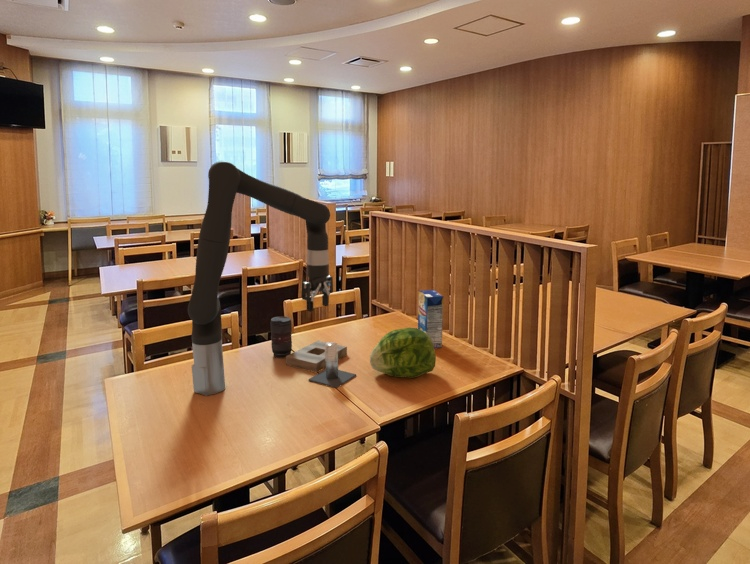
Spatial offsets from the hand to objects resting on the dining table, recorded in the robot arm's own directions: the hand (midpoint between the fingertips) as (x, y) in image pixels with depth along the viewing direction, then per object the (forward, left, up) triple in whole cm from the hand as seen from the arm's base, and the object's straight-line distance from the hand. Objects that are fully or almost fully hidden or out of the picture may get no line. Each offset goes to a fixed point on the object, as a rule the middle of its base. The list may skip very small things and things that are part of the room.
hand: (318, 308), depth 172 cm
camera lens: (+8, +25, -25) cm, 36 cm away
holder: (+11, +10, -25) cm, 29 cm away
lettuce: (+15, -25, -25) cm, 39 cm away
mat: (0, -5, -25) cm, 25 cm away
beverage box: (+49, -20, -25) cm, 59 cm away
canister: (0, -5, -24) cm, 25 cm away
